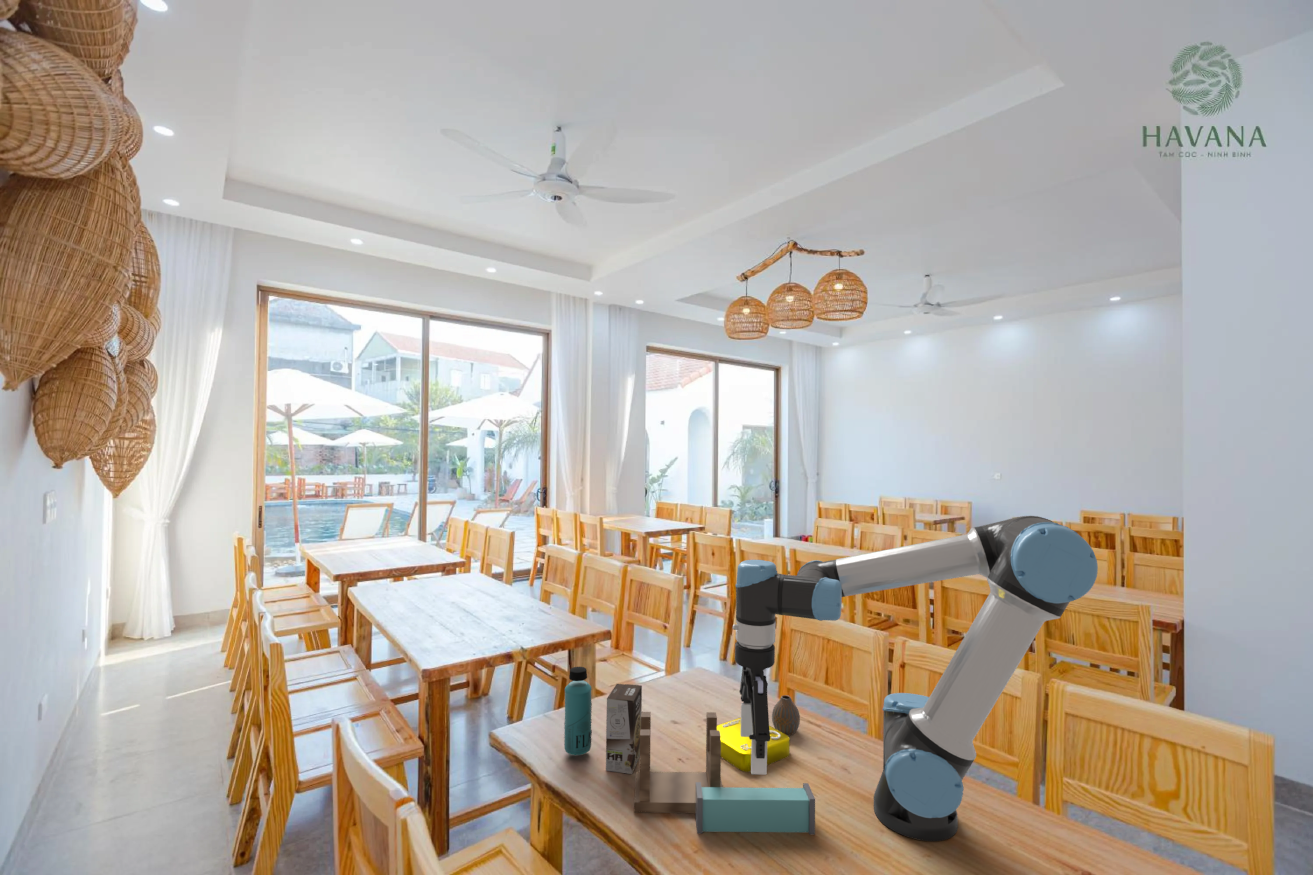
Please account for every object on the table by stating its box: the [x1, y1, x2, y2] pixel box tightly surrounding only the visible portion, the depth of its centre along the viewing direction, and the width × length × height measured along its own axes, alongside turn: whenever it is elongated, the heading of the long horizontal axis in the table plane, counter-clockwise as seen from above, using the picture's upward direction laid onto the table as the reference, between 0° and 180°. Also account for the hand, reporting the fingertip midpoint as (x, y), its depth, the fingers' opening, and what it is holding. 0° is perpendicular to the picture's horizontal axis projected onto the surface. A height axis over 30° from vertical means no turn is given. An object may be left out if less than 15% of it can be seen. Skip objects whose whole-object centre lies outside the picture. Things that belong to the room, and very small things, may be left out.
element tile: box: [717, 716, 791, 773], centre depth 143 cm, size 15×15×5 cm
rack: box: [633, 711, 723, 814], centre depth 124 cm, size 18×11×15 cm, turn 90°
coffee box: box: [605, 683, 643, 775], centre depth 137 cm, size 9×6×16 cm
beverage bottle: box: [563, 666, 593, 756], centre depth 140 cm, size 6×7×20 cm
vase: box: [771, 694, 801, 737], centre depth 152 cm, size 7×7×9 cm
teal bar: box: [694, 782, 816, 836], centre depth 115 cm, size 22×5×7 cm, turn 90°
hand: (752, 753), depth 115 cm, fingers open, 13 cm apart
